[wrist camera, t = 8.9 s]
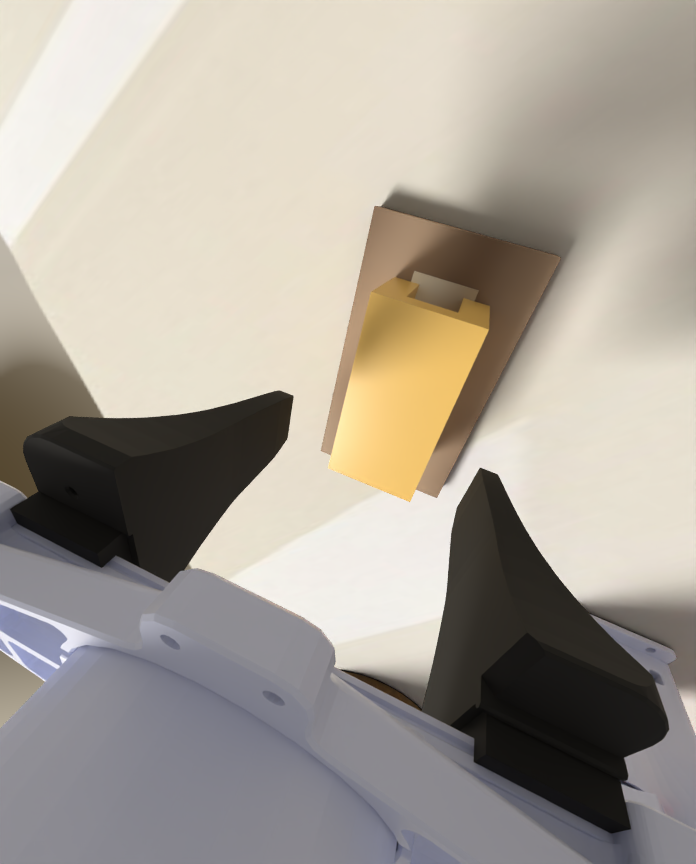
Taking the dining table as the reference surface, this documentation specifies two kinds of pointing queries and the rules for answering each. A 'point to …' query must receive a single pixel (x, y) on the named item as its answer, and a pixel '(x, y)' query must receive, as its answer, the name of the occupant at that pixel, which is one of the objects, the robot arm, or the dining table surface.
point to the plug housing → (404, 385)
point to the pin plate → (447, 287)
